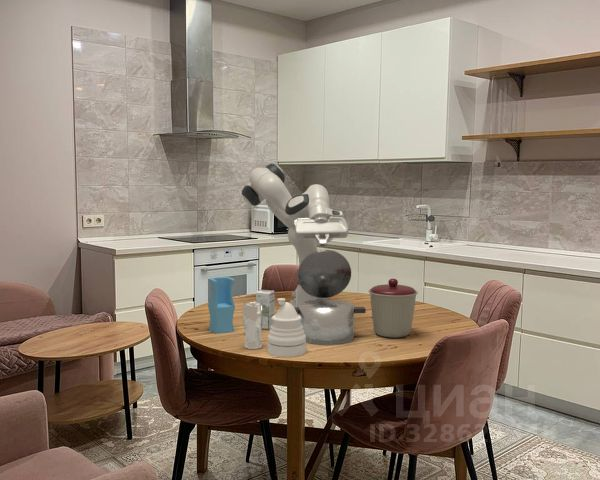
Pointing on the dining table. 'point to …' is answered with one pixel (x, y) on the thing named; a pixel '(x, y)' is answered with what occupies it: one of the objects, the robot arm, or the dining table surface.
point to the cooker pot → (328, 321)
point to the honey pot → (286, 332)
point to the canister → (392, 309)
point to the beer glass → (253, 324)
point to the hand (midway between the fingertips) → (323, 245)
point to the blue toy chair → (221, 305)
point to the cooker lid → (324, 273)
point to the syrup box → (266, 306)
